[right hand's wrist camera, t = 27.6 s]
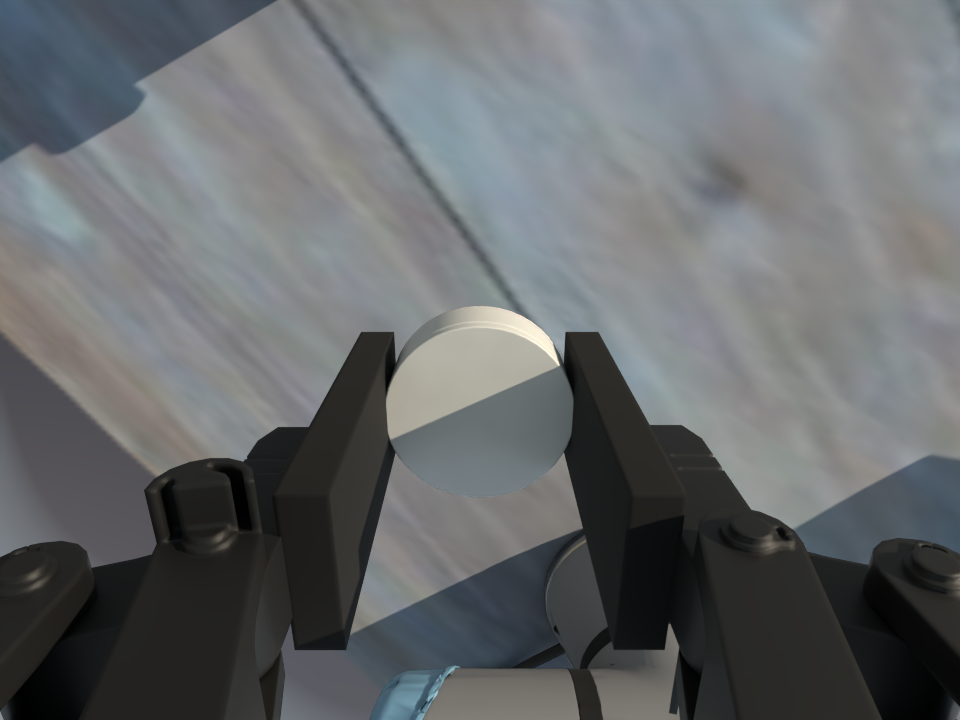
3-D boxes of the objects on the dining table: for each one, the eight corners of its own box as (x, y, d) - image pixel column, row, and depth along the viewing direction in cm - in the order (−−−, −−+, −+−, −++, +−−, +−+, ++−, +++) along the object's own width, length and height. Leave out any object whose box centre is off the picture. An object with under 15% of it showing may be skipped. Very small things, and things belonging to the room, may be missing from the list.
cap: (358, 364, 14) (344, 391, 13) (507, 270, 13) (510, 288, 12) (455, 489, 15) (452, 526, 14) (597, 411, 15) (609, 442, 13)
